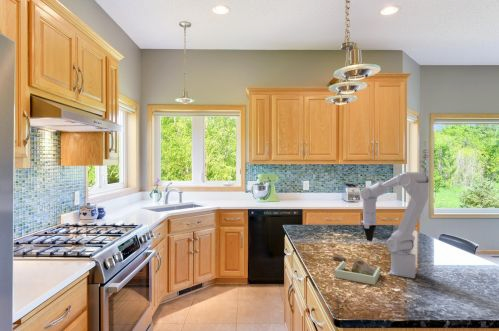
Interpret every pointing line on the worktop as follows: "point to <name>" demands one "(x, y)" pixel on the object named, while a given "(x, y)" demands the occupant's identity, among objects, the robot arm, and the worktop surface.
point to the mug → (362, 267)
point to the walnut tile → (338, 257)
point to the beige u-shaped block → (356, 275)
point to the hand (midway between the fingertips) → (369, 240)
